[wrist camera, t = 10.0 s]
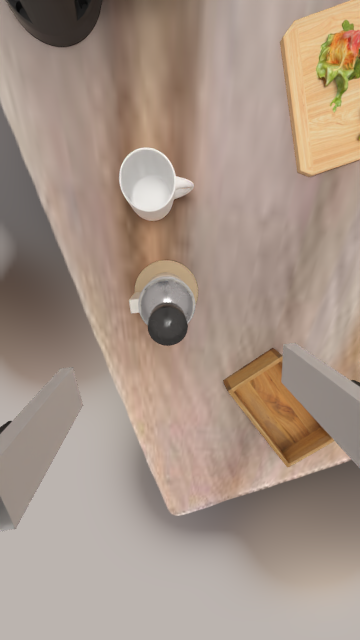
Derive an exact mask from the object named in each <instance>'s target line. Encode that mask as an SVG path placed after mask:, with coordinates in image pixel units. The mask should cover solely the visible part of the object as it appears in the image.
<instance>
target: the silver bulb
mask: <svg viewBox="0 0 360 640" xmlns="http://www.w3.org/2000/svg"><path fill="white" fill-rule="evenodd" d="M141 312H142V315H143V318H144V319H145V321H146V322H147V323H148V331H149V334H150V336H151V338H152V339H153V340H154V341H155V342H157V343H159V344H161V345H167V346H168V345H174V344H177V343H178V342H180V341H181V340H182V339H183V338H184V337H185V335H186V333H187V328H188V325H187V322H188V321H189V319H190V317H191V315H192V312H193V301H192V298H191V295H190V294H189V292H188V290H187V289H186V288H185V287H184V286H183V285H181V284H179V283H178V282H175V281H171V280H163V281H159V282H156V283H154V284H153V285H151V286H150V287H149V288H148V289H147V290H146V291H145V293H144V295H143V297H142V300H141Z"/></svg>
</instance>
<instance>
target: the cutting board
mask: <svg viewBox="0 0 360 640" xmlns="http://www.w3.org/2000/svg"><path fill="white" fill-rule="evenodd" d="M280 45H281V52H282V60H283V67H284V75H285V82H286V90H287V97H288V105H289V112H290V120H291V127H292V135H293V142H294V150H295V157H296V164H297V172H298V173H300V174H303V175H306V176H308V177H311V176H313V175H316V174H319V173H322V172H325V171H328V170H331V169H334V168H337V167H340V166H343V165H346V164H349V163H352V162H355V161H358V160H360V0H351V1H348V2H345V3H342V4H340V5H337V6H334V7H331V8H329V9H326V10H323V11H320V12H317V13H315V14H312V15H309V16H306V17H304V18H301V19H298V20H295V21H294V22H293V24H292V25H291V27H290V28H289V29H288V31H287V32H286V34H285V35H284V36H283V38H282V40H281V42H280Z"/></svg>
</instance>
